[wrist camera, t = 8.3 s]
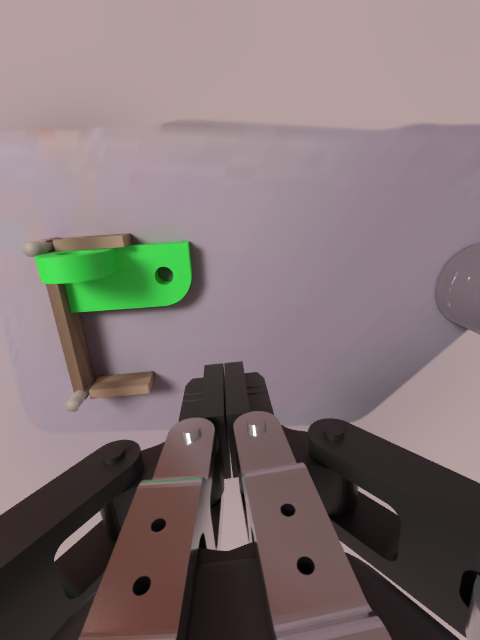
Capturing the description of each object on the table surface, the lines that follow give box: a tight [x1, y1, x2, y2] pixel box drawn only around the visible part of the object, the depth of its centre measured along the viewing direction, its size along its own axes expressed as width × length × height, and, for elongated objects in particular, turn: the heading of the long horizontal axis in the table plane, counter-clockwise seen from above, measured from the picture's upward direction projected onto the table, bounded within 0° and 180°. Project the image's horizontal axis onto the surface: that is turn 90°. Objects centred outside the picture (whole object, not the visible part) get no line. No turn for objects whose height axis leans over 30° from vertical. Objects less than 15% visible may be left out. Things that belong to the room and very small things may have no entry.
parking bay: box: [22, 234, 154, 412], centre depth 31 cm, size 8×16×5 cm, turn 3°
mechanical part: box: [35, 241, 192, 313], centre depth 29 cm, size 12×6×8 cm, turn 93°
